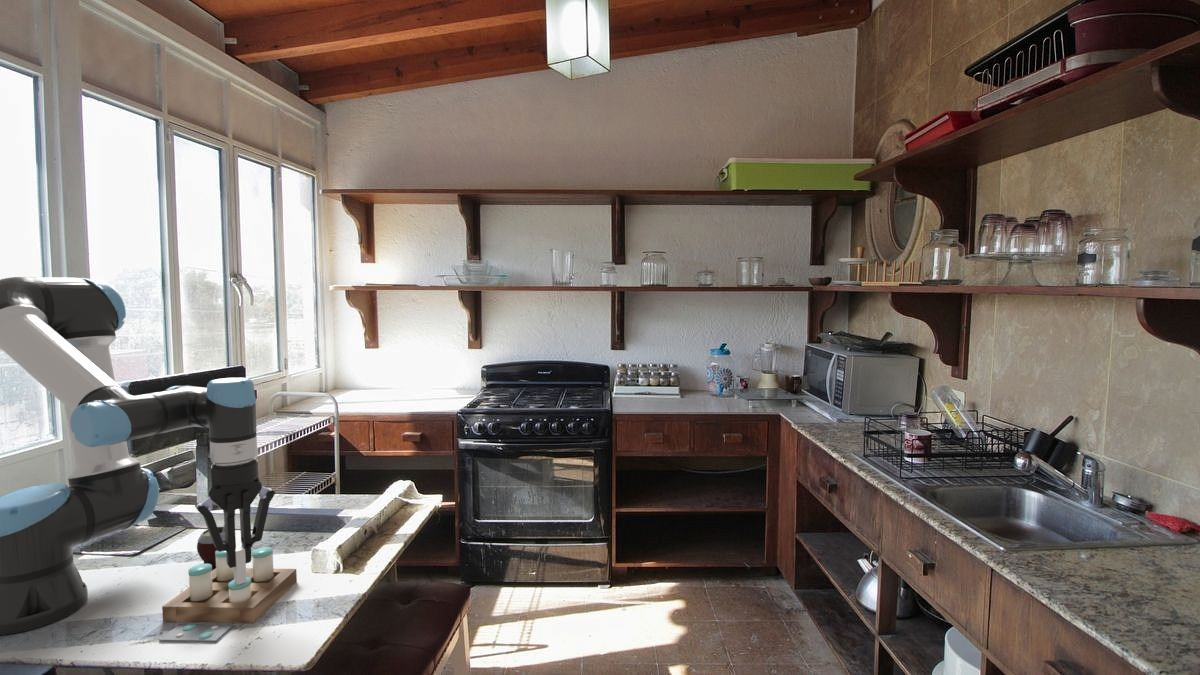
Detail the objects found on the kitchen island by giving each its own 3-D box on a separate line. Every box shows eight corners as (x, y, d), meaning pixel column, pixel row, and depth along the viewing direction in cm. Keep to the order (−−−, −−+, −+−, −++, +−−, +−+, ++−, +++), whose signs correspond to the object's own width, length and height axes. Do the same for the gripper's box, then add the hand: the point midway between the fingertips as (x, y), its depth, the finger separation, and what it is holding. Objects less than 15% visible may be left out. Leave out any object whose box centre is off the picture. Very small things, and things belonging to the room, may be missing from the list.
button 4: (249, 581, 116) (247, 555, 115) (259, 572, 120) (258, 546, 119) (267, 582, 116) (266, 555, 115) (277, 573, 120) (276, 547, 119)
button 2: (212, 581, 116) (210, 554, 116) (224, 572, 120) (223, 546, 119) (230, 581, 116) (229, 554, 116) (241, 572, 120) (240, 546, 119)
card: (159, 641, 101) (159, 638, 101) (180, 625, 106) (180, 622, 106) (215, 642, 101) (215, 639, 101) (234, 626, 106) (234, 623, 106)
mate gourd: (190, 573, 125) (187, 506, 124) (213, 556, 133) (210, 493, 132) (225, 573, 126) (222, 506, 124) (246, 556, 133) (243, 493, 132)
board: (162, 622, 107) (162, 606, 107) (217, 581, 122) (216, 567, 122) (253, 623, 107) (253, 607, 107) (296, 582, 122) (296, 568, 121)
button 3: (225, 615, 109) (223, 586, 108) (237, 604, 112) (236, 577, 112) (244, 615, 109) (243, 587, 108) (256, 604, 112) (255, 577, 112)
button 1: (185, 601, 109) (183, 572, 108) (198, 591, 112) (197, 563, 112) (204, 601, 108) (203, 573, 108) (217, 591, 112) (216, 563, 112)
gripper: (197, 472, 101) (203, 601, 103) (278, 457, 110) (283, 576, 112) (188, 463, 106) (195, 585, 108) (267, 449, 115) (272, 563, 117)
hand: (240, 580), depth 110 cm, fingers closed
